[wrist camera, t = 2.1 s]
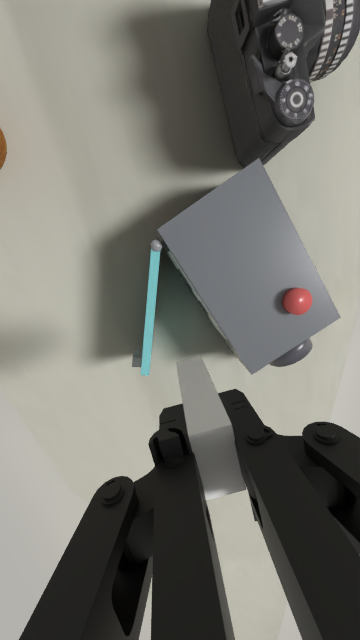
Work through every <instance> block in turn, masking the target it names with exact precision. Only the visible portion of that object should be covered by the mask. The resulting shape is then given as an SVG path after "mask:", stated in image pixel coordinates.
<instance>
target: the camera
mask: <svg viewBox="0 0 360 640" xmlns="http://www.w3.org/2000/svg"><path fill="white" fill-rule="evenodd" d="M359 30H360V0H211V4H210V9H209V15H208V35H209V40H210V44H211V48H212V52H213V56H214V61H215V65H216V69H217V73H218V78H219V82H220V86H221V91H222V96H223V100H224V104H225V108H226V113H227V117H228V121H229V126H230V130H231V134H232V139H233V143H234V147H235V151H236V155H237V158H238V161H239V163H240V164H241V165H242V166H243V167H247V166H248V165H250V164H251V163H252V162H254V161H255V160H257V159H258V158H259V159H260V161H261V163H262V165H264V164H266V163H267V162H268V161H269V160H270V159H271V158H272V157H274V156H275V155H276V154H277V153H278V152H279V151H280V150H282V149H283V148H284V147H285V146H286V145H287V144H288V143H289V142H290V141H292V140H293V139H295V138H296V137H297V136H299V135H300V134H301V133H302V132H303V131H304V130H305V129H306V128H307V127H308V126H309V125H310V124H311V123H312V122H313V121H314V119H315V114H314V107H313V104H314V93H313V90H312V87H311V86H310V82H311V81H316V80H320V79H322V78H325V77H326V76H327V75H328V74H330V73H331V72H333V71H334V70H335V69H337V67H338V66H339V65H340V64H341V62H342V61H343V60H344V59H345V58H346V57H347V56H348V54H349V52H350V51H351V49H352V47H353V46H354V43H355V41H356V39H357V36H358V34H359Z"/></svg>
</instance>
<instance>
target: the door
mask: <svg viewBox="0 0 360 640" xmlns="http://www.w3.org/2000/svg"><path fill="white" fill-rule="evenodd" d="M150 247H151V256H150V268H149V281H148V293H147V305H146V317H145V329H144V341H143V350H135V352H134V355H133V362H132V367H141V375H149V371H150V361H151V350H152V339H153V328H154V317H155V306H156V295H157V284H158V272H159V261H160V253H161V250H162V244H161V242H160V241H159V240H153V241H152V242H151V244H150Z"/></svg>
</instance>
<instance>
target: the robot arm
mask: <svg viewBox="0 0 360 640" xmlns="http://www.w3.org/2000/svg"><path fill="white" fill-rule="evenodd" d="M176 365H177V371H178V377H179V383H180V389H181V395H182V401H183V404H179V405H176V406H172V407H168V408H164V409H163V411H162V413H161V414H160V416H159V424H160V425H159V430H158V431H157V432H156V433H154V434H153V436H152V437H151V438H150V440H149V444H148V445H149V448H150V451H151V454H152V457H153V460H154V463H155V467H154V468H153V469H152V470H151V471H150V472H149V473H148V474H147V475H145V476H144V477H142V478H140V479H138V480H137V481H135V482H133V481H132V480H131V479H130V478H128V477H124V476H119V477H115V478H112V479H110V480H109V481H107V482H105V483H104V484H103V485H102V486H101V487H100V488H99V489H98V490H97V491H96V493H95V494H94V496H93V498H92V500H91V502H90V504H89V505H88V508H87V510H86V511H85V513H84V515H83V517H82V519H81V521H80V523H79V525H78V527H77V529H76V531H75V533H74V534H73V537H72V538H71V540H70V542H69V544H68V546H67V548H66V550H65V552H64V554H63V556H62V558H61V560H60V562H59V563H58V565H57V567H56V569H55V571H54V573H53V575H52V577H51V579H50V581H49V583H48V585H47V587H46V589H45V590H44V592H43V594H42V596H41V598H40V600H39V602H38V604H37V606H36V608H35V610H34V612H33V614H32V616H31V618H30V619H29V621H28V623H27V625H26V627H25V629H24V631H23V633H22V635H21V637H20V639H19V640H139V635H140V630H141V626H142V621H143V616H144V611H145V607H146V602H147V597H148V592H149V588H150V583H151V578H152V619H151V640H235V637H234V632H233V627H232V622H231V618H230V613H229V608H228V603H227V598H226V593H225V588H224V583H223V578H222V573H221V568H220V563H219V558H218V553H217V548H216V543H215V539H214V534H213V529H212V524H211V519H210V514H209V511H208V507H207V503H206V500H210V499H213V498H217V497H221V496H224V495H228V494H231V493H235V492H239V491H242V490H246V487H247V489H248V492H249V497H250V501H251V506H252V510H253V515H254V519H255V521H258V523H259V526H260V529H261V531H262V534H263V537H264V539H265V542H266V545H267V547H268V550H269V552H270V555H271V558H272V560H273V563H274V566H275V568H276V571H277V574H278V576H279V579H280V581H281V584H282V587H283V589H284V592H285V595H286V597H287V600H288V602H289V605H290V608H291V610H292V613H293V616H294V618H295V621H296V624H297V626H298V629H299V632H300V634H301V637H302V639H303V640H360V438H359V437H357V436H356V435H354V434H353V433H351V432H349V431H348V430H346V429H344V428H342V427H340V426H338V425H336V424H334V423H329V422H315V423H311V424H309V425H307V426H306V427H305V428H304V430H303V432H302V435H303V436H283V435H278V434H276V433H275V432H274V431H273V430H272V429H271V428H270V427H267V426H265V425H264V424H263V422H262V421H261V419H260V418H259V416H258V415H257V413H256V412H255V410H254V409H253V407H252V406H251V404H250V403H249V401H248V400H247V398H246V396H245V395H244V393H242V392H240V391H239V390H237V389H233V390H229V391H225V392H222V393H217V391H216V389H215V386H214V384H213V382H212V380H211V377H210V375H209V373H208V371H207V369H206V366H205V364H204V362H203V360H202V358H201V356H198V357H194V358H191V359H187V360H183V361H179V362H176ZM245 484H246V486H245Z"/></svg>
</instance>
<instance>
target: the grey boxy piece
mask: <svg viewBox="0 0 360 640" xmlns="http://www.w3.org/2000/svg"><path fill="white" fill-rule="evenodd" d="M157 235H158V239H159V241H160V242H161V244H162V245H163V247H164V248H165V250H166V251H167V254H168V256H169V257H170V259H171V260H172V262H173V263H174V265H175V266H176V268H177V270H178V271H179V273H180V276H181V277H182V279H183V280H184V282H185V283H186V285H187V286H188V288H189V289H190V291H191V292H192V294H193V295H194V297H195V298H196V300H197V301H198V303H199V304H200V306H202V308H203V309H204V311H205V312H206V314H207V315H208V317H209V318H210V320H211V321H212V323H213V324H214V326H215V327H216V329H217V330H218V331H219V332H220V334H221V335H222V337H223V338H224V340H225V341H226V343H227V344H228V346H229V347H230V349H231V351H232V352H233V353H234V354H235V355H236V357H237V358H238V359H239V360H240V361H241V363H242V364H243V365H244V366H245V367H246V369H247V370H248V371H249V372H250V373H251V375H252V374H254V373H255V372H257V371H258V370H260V369H261V368H263V367H264V366H266V365H268V364H270V365H272V366H277V367H282V366H288V365H291V364H294V363H296V362H298V361H300V360H301V359H303V358H304V357H305V356H306V355H307V354H308V353H309V352H310V351H311V349H312V342H311V340H310V337H311V336H313V335H314V334H316V333H317V332H319V331H320V330H322V329H323V328H325V327H327V326H328V325H330V324H331V323H333V322H334V321H336V320H337V319H339V318H341V317H340V315H339V313H338V311H337V309H336V307H335V305H334V303H333V301H332V299H331V297H330V295H329V293H328V292H327V290H326V288H325V286H324V284H323V282H322V280H321V278H320V276H319V274H318V272H317V270H316V268H315V266H314V264H313V262H312V260H311V258H310V256H309V254H308V252H307V250H306V249H305V247H304V245H303V243H302V241H301V239H300V237H299V235H298V233H297V231H296V229H295V227H294V225H293V223H292V221H291V219H290V217H289V215H288V213H287V211H286V209H285V207H284V206H283V204H282V202H281V200H280V198H279V196H278V194H277V192H276V190H275V188H274V186H273V184H272V182H271V180H270V178H269V176H268V174H267V172H266V170H265V168H264V166H263V165H262V163H261V161H260V159H259V158H258V159H257V160H255V161H254V162H252V163H251V164H250V165H248V166H247V167H245V168H244V169H242V170H241V171H240V172H238V173H237V174H235V175H234V176H232V177H231V178H230V179H228V180H227V181H225V182H224V183H222V184H221V185H220V186H218V187H217V188H215V189H214V190H212V191H211V192H210V193H208V194H207V195H205V196H204V197H202V198H201V199H200V200H198V201H197V202H195V203H194V204H192V205H191V206H190V207H188V208H187V209H185V210H184V211H182V212H181V213H180V214H178V215H177V216H175V217H174V218H172V219H171V220H170V221H168V222H167V223H165V224H164V225H162V226H161V227H160V228H158V229H157Z"/></svg>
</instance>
